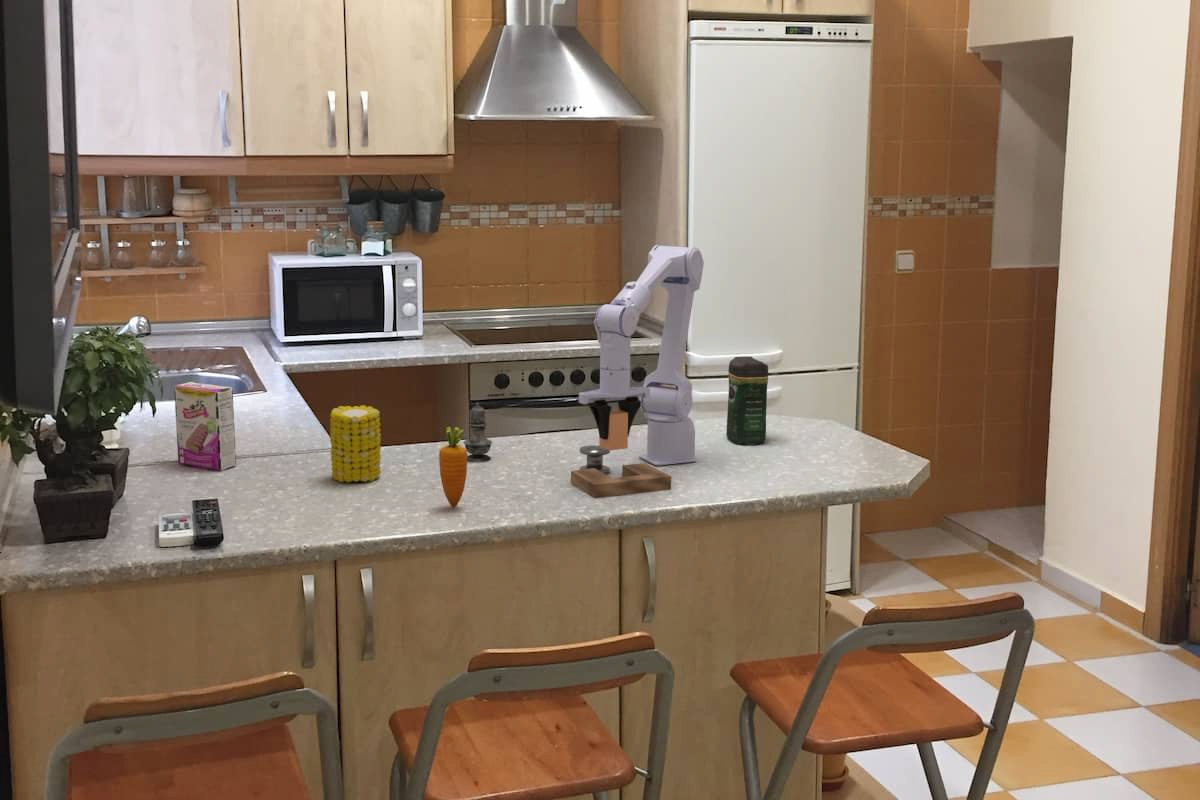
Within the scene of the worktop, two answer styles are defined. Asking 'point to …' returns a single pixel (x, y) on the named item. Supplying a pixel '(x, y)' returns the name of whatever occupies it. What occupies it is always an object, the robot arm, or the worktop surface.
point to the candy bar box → (205, 426)
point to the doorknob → (595, 458)
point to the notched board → (621, 481)
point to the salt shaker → (477, 436)
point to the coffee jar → (747, 400)
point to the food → (355, 443)
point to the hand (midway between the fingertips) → (614, 437)
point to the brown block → (616, 431)
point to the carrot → (453, 467)
